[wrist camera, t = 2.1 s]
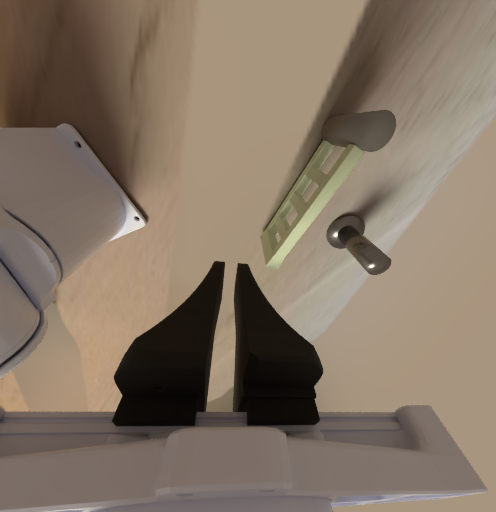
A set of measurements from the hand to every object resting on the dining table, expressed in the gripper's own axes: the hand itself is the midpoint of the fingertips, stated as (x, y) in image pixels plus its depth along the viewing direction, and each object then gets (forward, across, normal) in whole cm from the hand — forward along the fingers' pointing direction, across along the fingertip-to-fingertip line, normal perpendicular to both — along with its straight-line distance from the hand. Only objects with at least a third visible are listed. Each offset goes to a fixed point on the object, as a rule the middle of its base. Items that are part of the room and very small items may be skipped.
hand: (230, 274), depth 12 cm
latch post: (+9, -13, 0) cm, 16 cm away
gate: (+9, -6, -4) cm, 11 cm away
